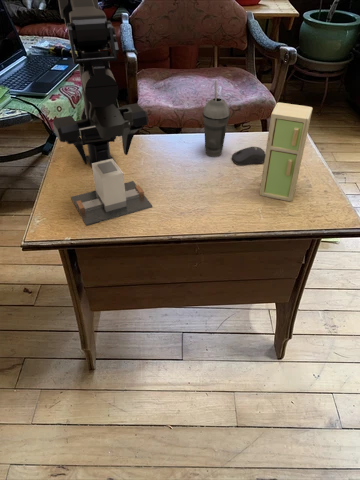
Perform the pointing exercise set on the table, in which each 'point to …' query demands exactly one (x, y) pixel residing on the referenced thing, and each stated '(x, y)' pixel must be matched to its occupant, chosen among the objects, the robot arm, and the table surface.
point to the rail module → (109, 184)
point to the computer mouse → (249, 156)
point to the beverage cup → (215, 124)
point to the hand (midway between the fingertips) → (106, 158)
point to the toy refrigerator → (284, 150)
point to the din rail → (96, 213)
